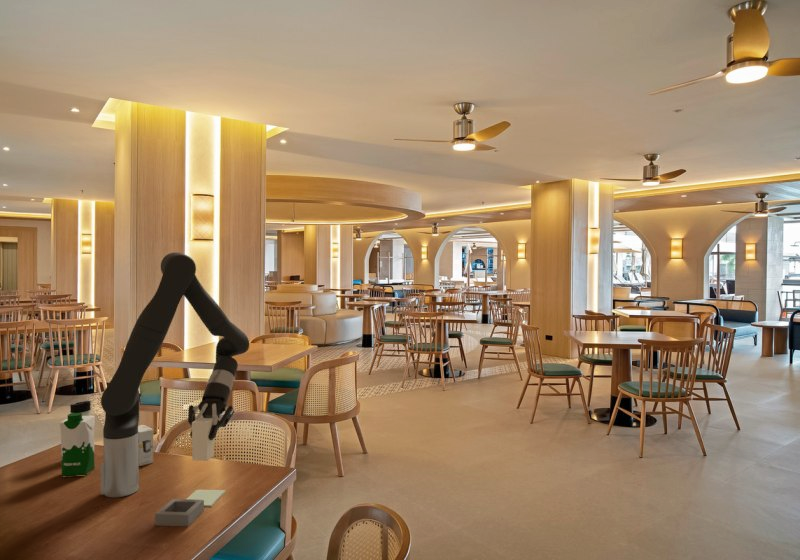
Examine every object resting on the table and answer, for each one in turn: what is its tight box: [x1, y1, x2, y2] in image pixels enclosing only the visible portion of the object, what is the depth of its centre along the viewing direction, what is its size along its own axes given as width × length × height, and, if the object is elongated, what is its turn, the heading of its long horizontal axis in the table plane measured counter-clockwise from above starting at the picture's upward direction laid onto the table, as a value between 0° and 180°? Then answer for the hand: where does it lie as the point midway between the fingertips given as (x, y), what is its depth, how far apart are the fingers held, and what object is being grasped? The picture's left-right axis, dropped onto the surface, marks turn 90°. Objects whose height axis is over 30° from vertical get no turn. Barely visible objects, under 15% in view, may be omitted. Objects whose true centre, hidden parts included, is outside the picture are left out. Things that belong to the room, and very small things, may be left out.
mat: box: [186, 489, 227, 508], centre depth 153 cm, size 9×10×1 cm
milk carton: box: [59, 413, 96, 477], centre depth 172 cm, size 9×9×20 cm
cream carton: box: [191, 418, 215, 462], centre depth 152 cm, size 4×4×11 cm
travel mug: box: [69, 400, 92, 416], centre depth 187 cm, size 6×7×20 cm
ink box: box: [138, 424, 154, 467], centre depth 182 cm, size 9×5×12 cm, turn 50°
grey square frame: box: [154, 498, 205, 527], centre depth 141 cm, size 9×9×3 cm
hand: (201, 438), depth 151 cm, fingers closed on cream carton, 4 cm apart
